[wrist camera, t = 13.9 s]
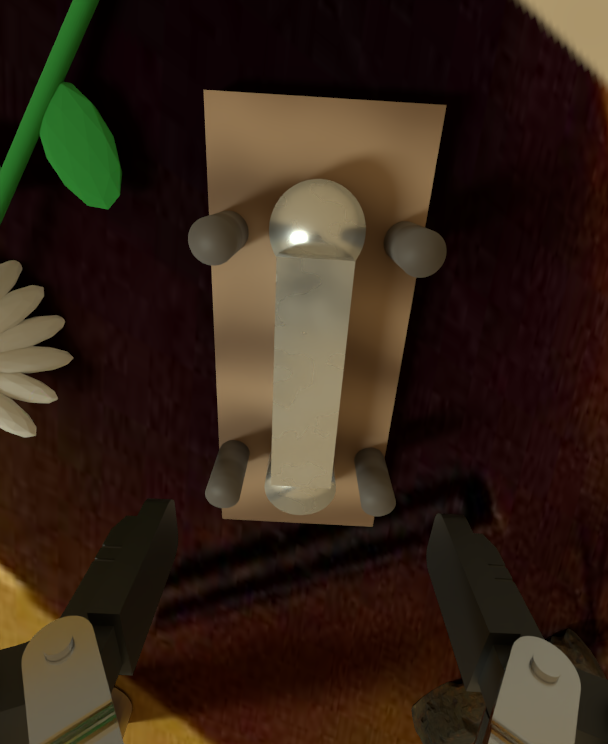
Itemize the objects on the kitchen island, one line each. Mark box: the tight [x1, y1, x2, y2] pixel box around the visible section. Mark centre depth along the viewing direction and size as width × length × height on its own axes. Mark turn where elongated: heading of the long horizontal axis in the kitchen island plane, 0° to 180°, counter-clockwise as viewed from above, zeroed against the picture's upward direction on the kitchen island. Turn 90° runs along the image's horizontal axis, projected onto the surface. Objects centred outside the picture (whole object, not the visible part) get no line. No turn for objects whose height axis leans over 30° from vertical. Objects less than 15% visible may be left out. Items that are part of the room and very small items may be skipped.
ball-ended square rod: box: [265, 179, 366, 515], centre depth 22 cm, size 4×19×4 cm, turn 177°
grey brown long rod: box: [412, 629, 606, 744], centre depth 37 cm, size 19×4×5 cm, turn 131°
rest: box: [188, 90, 446, 527], centre depth 22 cm, size 26×11×6 cm, turn 177°
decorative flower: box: [0, 0, 122, 437], centre depth 20 cm, size 13×5×30 cm
